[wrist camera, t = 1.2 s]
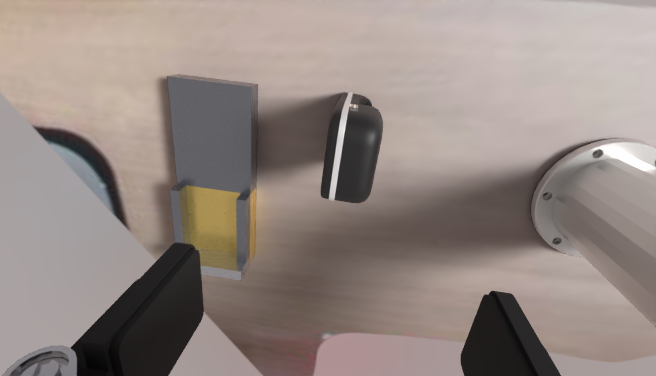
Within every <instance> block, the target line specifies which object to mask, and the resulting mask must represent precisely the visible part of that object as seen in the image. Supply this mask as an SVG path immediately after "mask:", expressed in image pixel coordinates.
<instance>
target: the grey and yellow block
mask: <svg viewBox="0 0 656 376" xmlns="http://www.w3.org/2000/svg"><path fill="white" fill-rule="evenodd" d="M167 79H168V90H169V101H170V112H171V123H172V134H173V145H174V155H175V166H176V177H177V185H175V186H174V187H173V188H171V189H170V199H171V209H172V218H173V228H174V238H175V243H176V242H178V243H185V244H191V245H194V247H195V250H199V253H200V265H201V274H202V275H208V276H215V277H221V278H227V279H234V280H240V281H241V280H242V278H243V276H244V274H245V272H246V270H247V268H248V266H249V264H250V262H251V261H252V259H253V257H254V255H255V227H256V167H257V107H258V84H251V83H243V82H235V81H227V80H219V79H211V78H203V77H195V76H187V75H179V74H178V75H172V76H167Z"/></svg>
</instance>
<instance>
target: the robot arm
mask: <svg viewBox="0 0 656 376" xmlns="http://www.w3.org/2000/svg"><path fill="white" fill-rule="evenodd" d="M531 216H532V221H533V224H534V226H535V228H536V230H537V232H538V233H539V234H540V236H541V237H542V238H543V239H544V240H545V241H546V242H547V243H548V244H549V245H550V246H551V247H553V248H555V249H557V250H558V251H560V252H562V253H566V254H569V255H572V256H579V257H585V258H586V259H587V260H588V261H589V262H590V263H591V264H592V265H593V266H594V267H595V268H596V269H597V270H598V271H599V272H600V273H601V274H602V275H603V276H604V277H605V278H606V279H607V280H608V281H609V282H610V283H611V284H612V285H613V286H614V287H615V288H616V289H617V290H618V291H619V292H620V293H621V294H622V295H623V296H624V297H625V298H626V299H627V300H628V301H629V302H631V303H632V304H633V305H634V306H635V307H636V308H637V309H638V310H639V311H640V312H641V313H642V314H643V315H644V316H645V317H646V318H647V319H648V320H649V321H650V322H651V323H652V324H653V325H654V326H655V327H656V147H654V146H652V145H650V144H647V143H643V142H640V141H637V140H631V139H623V138H622V139H607V140H602V141H598V142H593V143H591V144H588V145H585V146H583V147H580V148H578V149H576V150H574V151H573V152H571V153H569V154H567V155H566V156H564V157H563V158H562V159H560V160H559V161H558V162H556V163H555V164H554V165H553V166H552V167H551V168H550V169H549V170H548V171H547V172H546V174H545V175H544V176H543V178H542V179H541V181H540V182H539V184H538V186H537V188H536V190H535V192H534V195H533V199H532V203H531ZM203 312H204V308H203V294H202V280H201V265H200V253H199V250H195V247H194V245H191V244H185V243H178V242H176V243H174V244H173V245H172V246H171V247H170V248H169V249H168V250H167V251H166V252H165V253H164V254H163V255H162V256H161V257H160V258H159V259H158V260H157V261H156V262H155V263H154V264H153V265H152V267H151V268H150V269H149V270H148V271H147V272H146V273H145V274H144V275H143V276H142V277H141V278H140V279H138V280H137V281H136V282H134V283H133V284H132V285H131V286H130V287H129V288H128V289H127V290H126V291H125V292H124V293H123V294H122V295H121V297H120V298H119V299H118V300H117V301H116V302H115V303H114V304H113V305H112V306H111V307H110V308H109V309H108V310H107V311H106V312H105V313H104V314H103V315H102V316H101V317H100V318H99V319H98V320H97V321H96V322H95V323H94V324H93V325H92V326H91V327H90V328H89V329H88V330H87V332H85V334H84V335H83V336H82V337H81V338H80V339H79V340H78V341H77V342H76V343H75V344H74V345H73V346H72V347H71V348H69V347H65V346H50V347H46V348H42V349H39V350H37V351H34V352H32V353H29V354H28V355H26V356H24V357H23V358H21V359H19V360H18V361H17V362H15V363H14V364H13V365H12V366H10V367H9V368H8V369H7V370H6V371H5V373H4V374H3V375H2V376H168V375H169V374H170V372H171V370H172V369H173V366H174V365H175V364H176V362H177V360H178V359H179V357H180V355H181V353H182V352H183V350H184V349H185V347H186V345H187V343H188V342H189V340H190V339H191V337H192V335H193V333H194V332H195V330H196V328H197V327H198V325H199V323H200V322H201V320H202V317H203ZM461 366H462V369H463V373H464V376H561V375H560V373H559V372H558V370H557V368H556V366H555V365H554V363H553V361H552V360H551V358H550V356H549V354H548V352H547V351H546V349H545V348H544V347H543V345H542V344H541V342H540V340H539V339H538V337H537V335H536V333H535V332H534V330H533V328H532V327H531V325H530V323H529V321H528V320H527V318H526V316H525V314H524V313H523V311H522V309H521V308H520V306H519V304H518V302H517V301H516V299H515V297H514V296H513V295H512V294H510V293H504V292H497V291H491V292H490V293H489V295H484V296H483V298H482V301H481V303H480V306H479V309H478V311H477V314H476V316H475V319H474V322H473V324H472V327H471V329H470V332H469V335H468V337H467V340H466V342H465V345H464V348H463V350H462V353H461Z"/></svg>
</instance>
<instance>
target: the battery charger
mask: <svg viewBox="0 0 656 376" xmlns="http://www.w3.org/2000/svg"><path fill="white" fill-rule="evenodd" d="M382 131H383V121H382V116H381V114H380V112H379V111H378V109H376V108H374V107H372V104H371V102H370V100H369V99H367V98H366V97H364V96H361V95H357V94H353V93H351V92H348V93H342V94H341V96H340V99H339V100H338V102H337V104H336V106H335V108H334V110H333V113H332V116H331V120H330V125H329V131H328V138H327V145H326V153H325V160H324V168H323V176H322V184H321V196H322V197H323V198H326V199H329V201H334V200H338V201H344V202H350V203H361V202H364V201H365V200H366V199H367V198H368V197H369V195H370V192H371V188H372V184H373V179H374V174H375V169H376V164H377V159H378V154H379V149H380V144H381V139H382Z"/></svg>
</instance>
